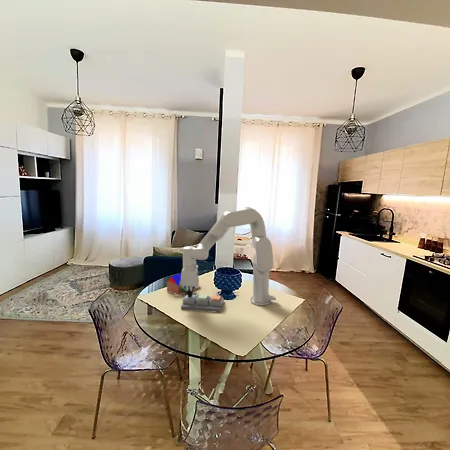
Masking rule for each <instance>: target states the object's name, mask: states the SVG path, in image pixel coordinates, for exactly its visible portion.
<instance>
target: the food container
mask: <svg viewBox="0 0 450 450" xmlns="http://www.w3.org/2000/svg"><path fill="white" fill-rule="evenodd" d="M179 284H180V287H181V281H180V283H179ZM190 287H191V286H189V288H190ZM193 292H194V293H195V288H194V289H193ZM181 294H182V295H181ZM181 294H180V295H181V296H184V295H187V291H186V289H185V288H184V287H181Z"/></svg>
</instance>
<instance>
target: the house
mask: <svg viewBox="0 0 450 450" xmlns="http://www.w3.org/2000/svg"><path fill="white" fill-rule="evenodd" d="M181 273H182V272H179V273H178V274H174V275H172V276H170V277H169V278H168V279H167V280H166V291H168V292H170V293H172V292H173V294H175V293H176V294H175V295H181V294H180V293H181V287H180V284H179V283H180V281H181Z"/></svg>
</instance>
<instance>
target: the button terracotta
mask: <svg viewBox="0 0 450 450" xmlns="http://www.w3.org/2000/svg"><path fill="white" fill-rule="evenodd" d="M211 297H212V298H211ZM211 297H210V298H211V301H218V302H220V301H221V297H222V295H217V294H213V295H211Z"/></svg>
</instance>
